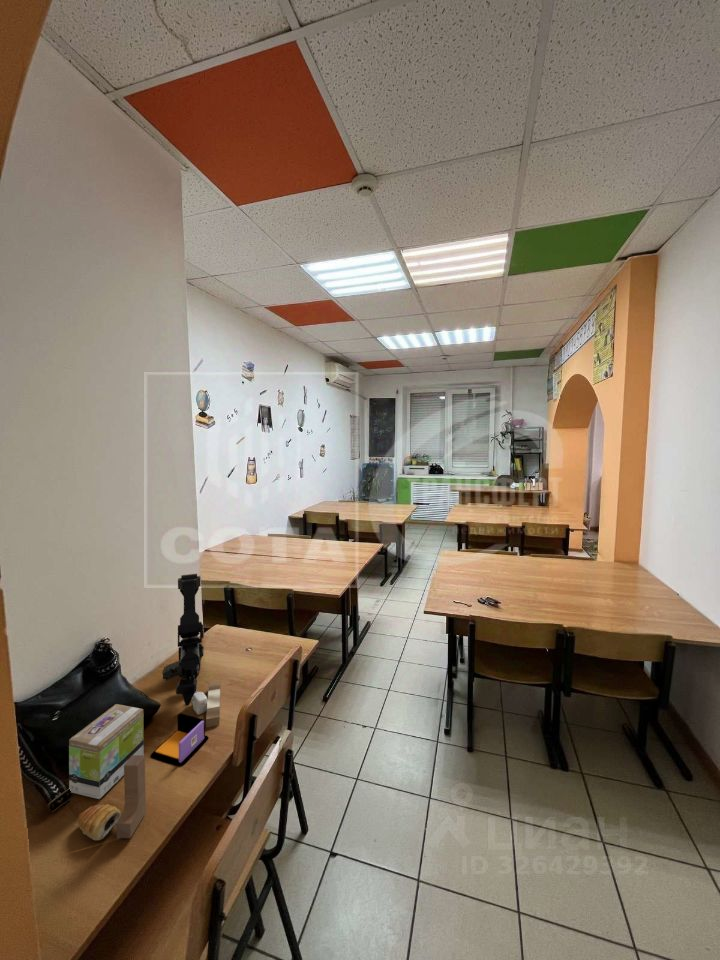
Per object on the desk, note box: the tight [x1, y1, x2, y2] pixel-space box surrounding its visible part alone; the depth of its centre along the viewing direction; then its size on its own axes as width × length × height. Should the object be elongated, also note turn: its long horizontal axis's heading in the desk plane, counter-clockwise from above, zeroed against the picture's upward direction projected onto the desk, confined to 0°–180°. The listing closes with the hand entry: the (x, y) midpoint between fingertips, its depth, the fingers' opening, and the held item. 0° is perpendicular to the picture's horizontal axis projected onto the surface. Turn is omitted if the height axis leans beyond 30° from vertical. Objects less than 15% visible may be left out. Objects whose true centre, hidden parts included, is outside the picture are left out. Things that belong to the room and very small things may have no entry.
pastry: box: [76, 803, 122, 841], centre depth 90 cm, size 9×7×4 cm
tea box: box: [68, 703, 145, 800], centre depth 104 cm, size 15×10×15 cm, turn 168°
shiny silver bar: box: [205, 681, 221, 729], centre depth 132 cm, size 20×4×3 cm, turn 19°
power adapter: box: [190, 689, 208, 715], centre depth 132 cm, size 10×4×5 cm, turn 43°
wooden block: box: [115, 755, 147, 839], centre depth 90 cm, size 7×3×15 cm, turn 0°
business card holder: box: [150, 712, 209, 768], centre depth 114 cm, size 12×12×7 cm
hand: (188, 697), depth 135 cm, fingers open, 9 cm apart
